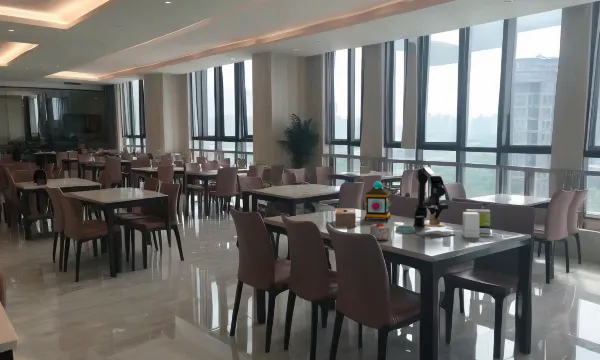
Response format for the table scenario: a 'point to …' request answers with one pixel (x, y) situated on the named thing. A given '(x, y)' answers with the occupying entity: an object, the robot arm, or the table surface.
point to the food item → (379, 231)
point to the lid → (434, 221)
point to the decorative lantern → (377, 202)
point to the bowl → (405, 229)
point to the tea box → (482, 220)
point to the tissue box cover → (345, 217)
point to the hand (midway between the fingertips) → (434, 218)
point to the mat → (434, 234)
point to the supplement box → (470, 225)
